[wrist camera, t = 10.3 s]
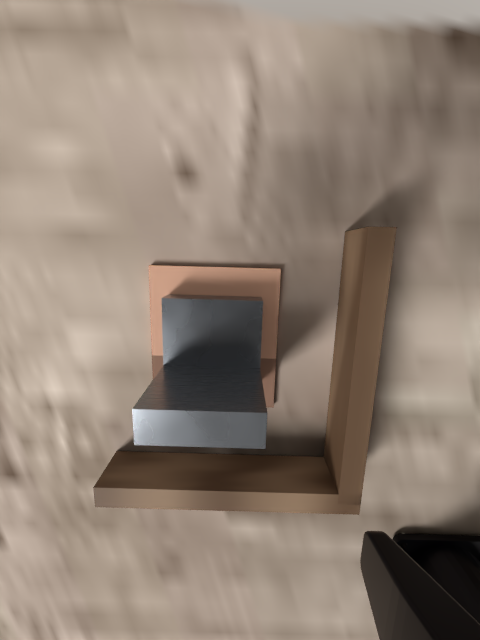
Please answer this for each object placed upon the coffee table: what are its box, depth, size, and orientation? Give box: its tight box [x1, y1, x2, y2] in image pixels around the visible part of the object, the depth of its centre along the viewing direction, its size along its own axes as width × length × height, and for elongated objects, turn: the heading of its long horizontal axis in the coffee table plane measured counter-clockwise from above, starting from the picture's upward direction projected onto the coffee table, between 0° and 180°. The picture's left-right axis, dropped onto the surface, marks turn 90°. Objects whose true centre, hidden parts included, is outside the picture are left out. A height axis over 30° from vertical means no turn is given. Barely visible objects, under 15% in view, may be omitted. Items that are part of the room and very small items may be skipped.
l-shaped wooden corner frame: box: [94, 227, 397, 515], centre depth 16 cm, size 14×15×3 cm
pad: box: [149, 265, 281, 407], centre depth 17 cm, size 7×8×1 cm
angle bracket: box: [132, 294, 267, 449], centre depth 14 cm, size 5×5×6 cm
